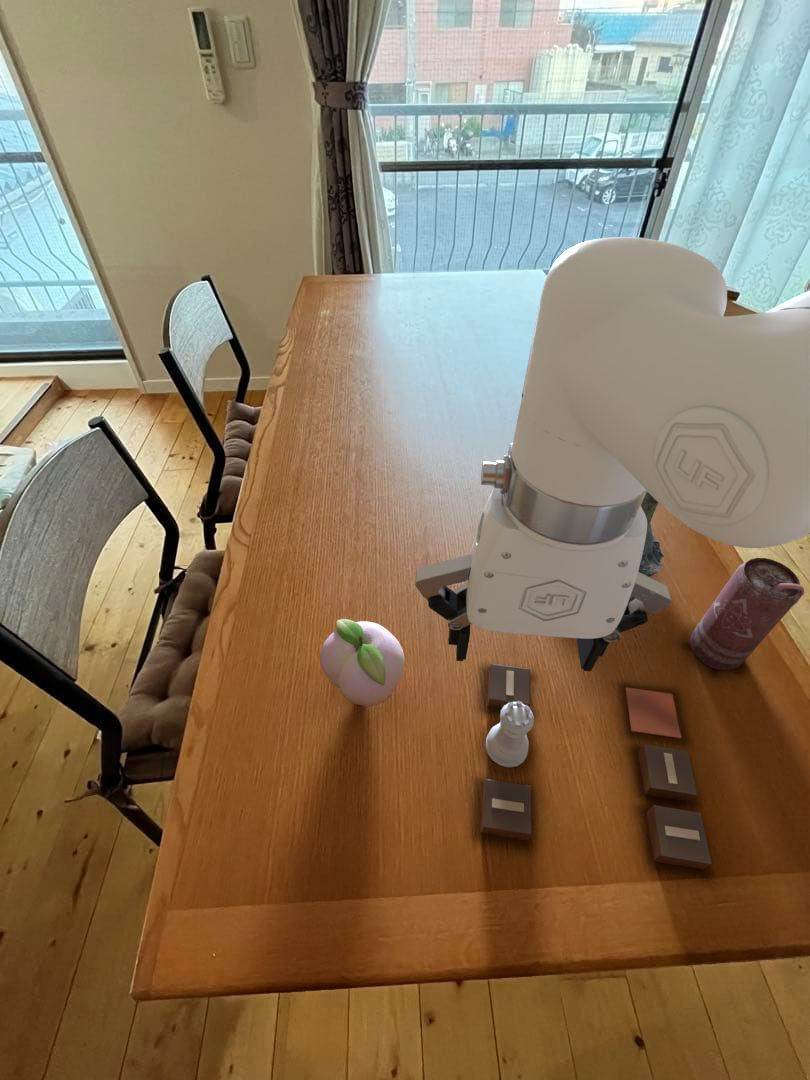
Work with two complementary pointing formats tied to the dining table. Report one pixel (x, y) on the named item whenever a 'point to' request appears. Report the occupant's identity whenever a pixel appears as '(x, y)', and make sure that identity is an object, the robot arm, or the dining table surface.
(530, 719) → the rook chess piece
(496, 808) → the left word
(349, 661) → the decorative fruit
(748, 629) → the can
